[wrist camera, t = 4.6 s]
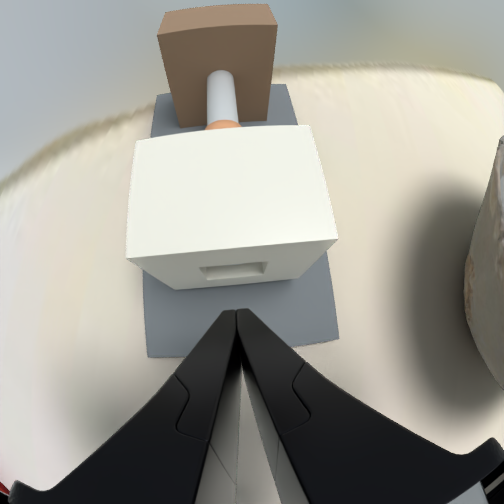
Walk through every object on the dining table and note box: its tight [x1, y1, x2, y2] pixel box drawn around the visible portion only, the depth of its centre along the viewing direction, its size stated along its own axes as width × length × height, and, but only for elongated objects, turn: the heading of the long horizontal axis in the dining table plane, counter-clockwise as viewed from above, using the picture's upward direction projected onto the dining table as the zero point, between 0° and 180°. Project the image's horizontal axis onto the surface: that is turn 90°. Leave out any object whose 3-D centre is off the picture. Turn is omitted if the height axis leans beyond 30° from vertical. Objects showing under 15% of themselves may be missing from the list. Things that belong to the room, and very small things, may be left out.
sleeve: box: [126, 125, 338, 290], centre depth 13 cm, size 5×7×7 cm
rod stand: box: [143, 4, 339, 357], centre depth 15 cm, size 22×12×10 cm, turn 6°
